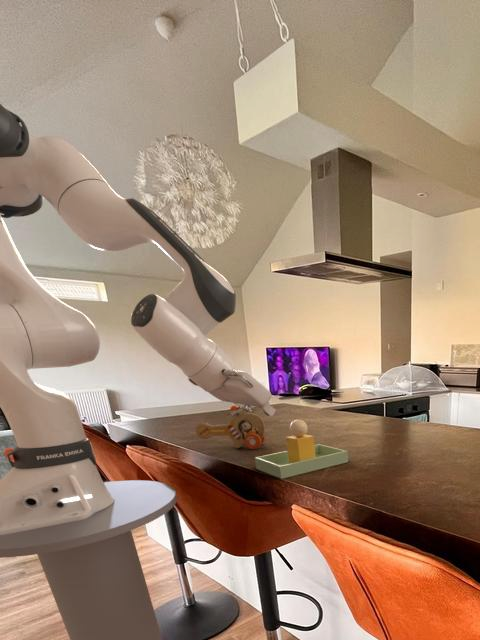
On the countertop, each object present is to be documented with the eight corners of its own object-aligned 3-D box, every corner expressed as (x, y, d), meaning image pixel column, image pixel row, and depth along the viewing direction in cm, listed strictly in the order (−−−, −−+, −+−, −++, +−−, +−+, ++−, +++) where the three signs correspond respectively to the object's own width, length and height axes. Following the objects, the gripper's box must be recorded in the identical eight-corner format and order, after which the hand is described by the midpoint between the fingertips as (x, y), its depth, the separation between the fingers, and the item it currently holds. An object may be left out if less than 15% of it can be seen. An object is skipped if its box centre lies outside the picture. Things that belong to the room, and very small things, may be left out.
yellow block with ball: (300, 467, 106) (295, 421, 102) (289, 464, 109) (283, 420, 105) (316, 462, 109) (311, 418, 105) (304, 459, 113) (300, 417, 109)
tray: (281, 478, 99) (279, 466, 98) (256, 468, 108) (254, 457, 107) (348, 462, 111) (347, 450, 110) (320, 454, 120) (319, 443, 119)
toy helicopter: (265, 449, 129) (258, 403, 124) (196, 453, 128) (186, 407, 123) (269, 443, 137) (263, 400, 132) (204, 447, 136) (196, 403, 131)
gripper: (246, 358, 81) (294, 404, 91) (200, 357, 94) (247, 397, 104) (227, 384, 80) (278, 428, 90) (184, 379, 93) (233, 418, 103)
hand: (261, 411), depth 97 cm, fingers open, 8 cm apart
